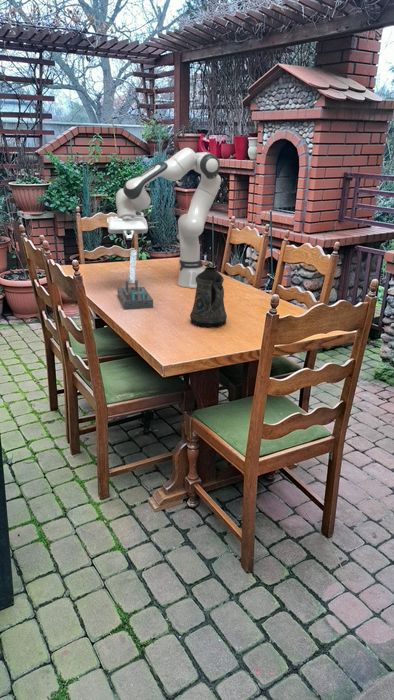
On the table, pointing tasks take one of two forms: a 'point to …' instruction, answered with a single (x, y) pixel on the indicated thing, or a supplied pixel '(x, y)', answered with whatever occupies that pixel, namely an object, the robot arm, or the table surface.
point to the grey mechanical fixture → (134, 297)
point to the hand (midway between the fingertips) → (129, 239)
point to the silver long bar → (132, 266)
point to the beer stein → (209, 300)
